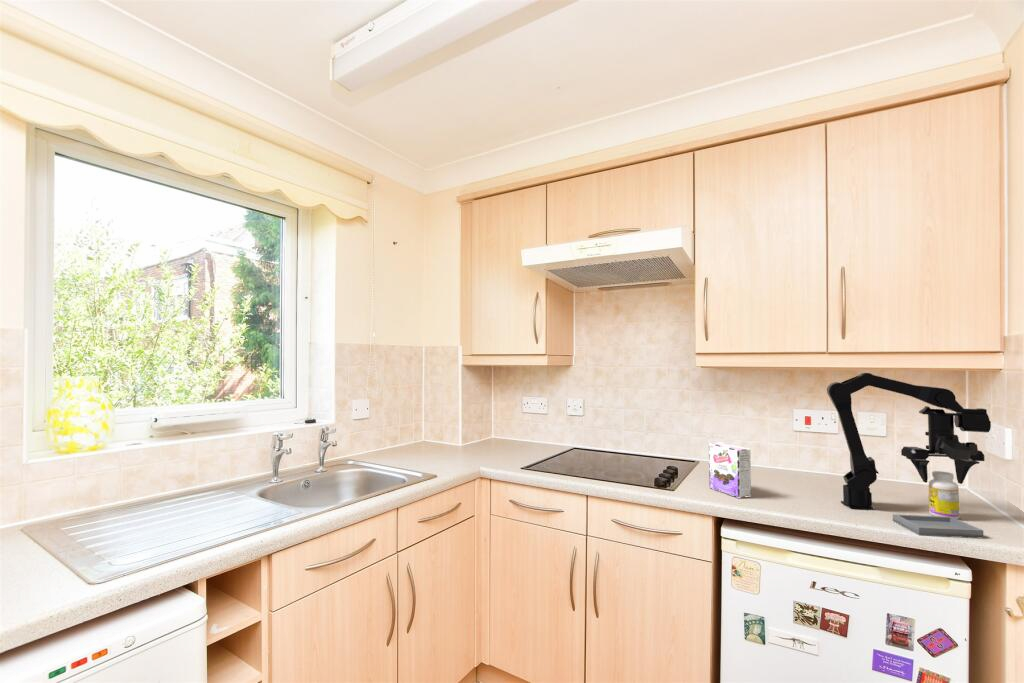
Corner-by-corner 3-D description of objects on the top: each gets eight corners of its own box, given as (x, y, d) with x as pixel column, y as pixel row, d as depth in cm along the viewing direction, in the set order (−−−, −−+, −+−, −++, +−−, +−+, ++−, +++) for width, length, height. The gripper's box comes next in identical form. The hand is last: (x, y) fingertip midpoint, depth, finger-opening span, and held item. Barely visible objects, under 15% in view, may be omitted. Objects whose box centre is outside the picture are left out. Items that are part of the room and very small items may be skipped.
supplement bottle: (928, 511, 146) (927, 469, 146) (958, 516, 141) (956, 472, 142) (929, 517, 140) (928, 473, 141) (960, 522, 136) (959, 476, 137)
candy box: (708, 488, 172) (707, 442, 173) (721, 486, 175) (720, 441, 175) (738, 498, 160) (737, 449, 160) (752, 497, 162) (751, 448, 162)
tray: (919, 535, 126) (919, 527, 126) (892, 521, 137) (892, 514, 137) (983, 538, 124) (983, 530, 124) (951, 523, 135) (951, 516, 135)
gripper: (925, 433, 135) (926, 489, 135) (1000, 435, 132) (1002, 491, 132) (899, 427, 146) (900, 479, 146) (968, 429, 143) (969, 481, 143)
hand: (942, 482), depth 141 cm, fingers open, 9 cm apart
